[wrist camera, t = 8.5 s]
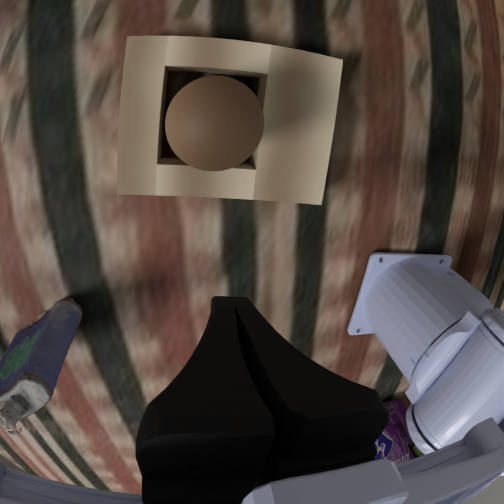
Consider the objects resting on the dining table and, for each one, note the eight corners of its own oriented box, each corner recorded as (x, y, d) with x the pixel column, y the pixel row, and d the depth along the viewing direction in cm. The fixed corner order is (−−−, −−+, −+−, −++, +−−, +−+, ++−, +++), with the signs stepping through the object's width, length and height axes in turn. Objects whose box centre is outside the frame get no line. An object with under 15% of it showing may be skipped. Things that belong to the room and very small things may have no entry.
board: (326, 64, 18) (342, 59, 16) (308, 193, 22) (321, 204, 19) (135, 44, 15) (127, 36, 13) (125, 184, 19) (117, 194, 17)
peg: (245, 88, 18) (270, 79, 12) (238, 152, 20) (259, 175, 13) (177, 84, 17) (168, 72, 11) (173, 149, 19) (161, 171, 13)
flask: (69, 291, 22) (19, 398, 12) (93, 318, 23) (59, 429, 13) (10, 334, 22) (-35, 423, 13) (31, 356, 24) (-5, 447, 14)
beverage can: (379, 393, 34) (423, 471, 23) (411, 398, 36) (453, 464, 25) (343, 428, 36) (376, 504, 25) (377, 430, 38) (410, 495, 27)
